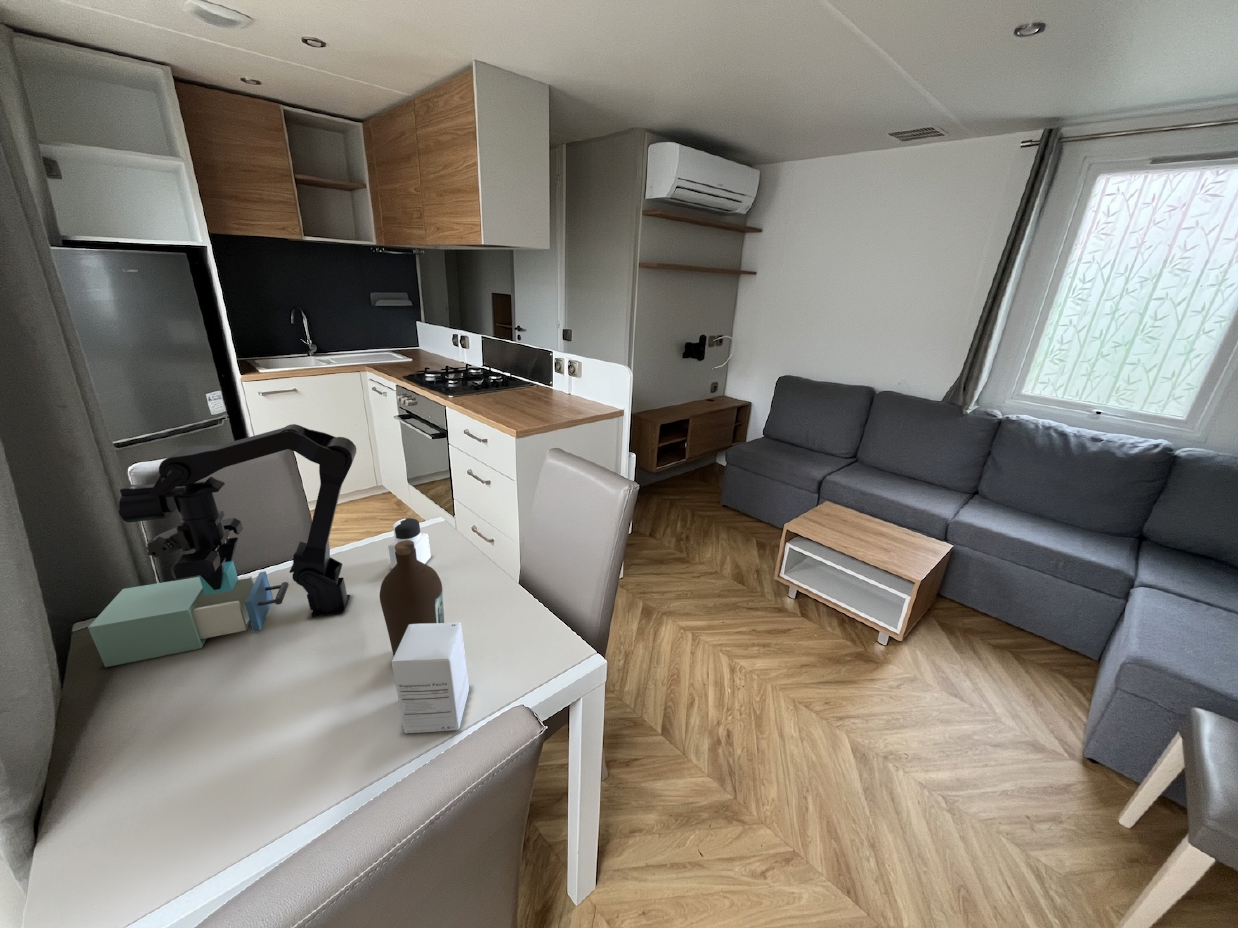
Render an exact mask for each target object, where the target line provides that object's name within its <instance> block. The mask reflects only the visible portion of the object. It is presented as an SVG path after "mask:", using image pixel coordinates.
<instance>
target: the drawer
mask: <svg viewBox="0 0 1238 928" xmlns="http://www.w3.org/2000/svg"><path fill="white" fill-rule="evenodd" d="M289 585H290V584H289V582H287V581H284V582H281V584H276V585H272V586H271V584H270V581H269V578H268V574H267V571H266V570H265V571H260V572H259V573H258V575H257V576H256V578H255V581H254V579H253V576H252V575H250V576H243V577H238V581H237V582H236V584H235V586H234V588H233V589H232V591H227V592H221V593H215V594H209V595H205V593H204V591H203V593H202V594H201V596H200V597H199V599H198V600H197V602H196V603H195V605H194V607H193V608H192V610H191V613H192V616H193V619H194V621H195V624H196V627H197V630H198V633H199V636H200V639H204V638H207V639H209V638H214V637H219V636H224V635H230V634H234V633H239V632H245V631H247V630H248V627H249V625H251V629H252V632H253V633H257V632H261V630H262V628H263V625H264V623H265V620H266V619H267V616H268V613H269V610H270V609H271V606H272V604H275V605H281V604H283V601H284V598H285V595H286V593H287V591H288V588H289ZM274 590H278V591H277V592H276V593H277V594H276V596H275V598H274V596H273V593H272V591H274Z"/></svg>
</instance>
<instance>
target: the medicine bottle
mask: <svg viewBox="0 0 1238 928" xmlns="http://www.w3.org/2000/svg"><path fill="white" fill-rule="evenodd" d="M392 530H393V535H394V536H393V537H394V539H393V540H392V541H391V542H390V543H389V544H388V545H387V549H388V555H389V560H390V567H391V570H392V569H393V568H394V567H395V565H396V564H397V561H396V555H395V552H396V550H395V545H396V544H397V543H398V542H401V541H404V540H410V541H413V542H414V548H415V549H416V557H417V560H418V561H420V562H422V563H424V564H427V562H428V561H429V560H430V559H431V557H432V554H431V547H430V540H429V538H430V537H429V534H428V533H424V532H423V533H422V532H421V526H420V521H419V520H418V519H416V518H411V517H406V518H402V519H398V520H397V521H396V522H394V524H392Z"/></svg>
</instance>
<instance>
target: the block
mask: <svg viewBox="0 0 1238 928" xmlns="http://www.w3.org/2000/svg"><path fill="white" fill-rule="evenodd" d="M198 577H199V578H200V581H201V584H202V587H203V590H204V593H205V595H209V594H215V593H221V592H227V591H232V589H233V588H234V586H235V584H236V582H237V581H238V578H239V577H238V574H237V570H236V566H235V564H234V560H232V561H230V562H225V566H224V573H223V579H222V585H221V588H220V589H218V590H213V588H212V587H211V586H210V585H209V584H208V583H207V582H206V581H205V580H204V579H203V578H202V577H201V576H200V575H198Z"/></svg>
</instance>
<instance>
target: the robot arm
mask: <svg viewBox="0 0 1238 928" xmlns="http://www.w3.org/2000/svg"><path fill="white" fill-rule="evenodd" d="M286 450H289V451H293V452H295V453H297V454H298V455H300V456H301V457H303V458H305V459H306V460H307V461H310V462H312V463H314V464H317V465H318V474H319V483H320V486H319V489H318V494H317V498H316V503H315V506H314V511H313V516H312V519H311V524H310V528H309V533H308V537H307V542H304V541H299V542H298V545H297V547H296V549H295V552H294V553H293V557H292V565H291V566H290V570H289V571H288V573H290V574H291V573H292V580H293V582H294V583H296V584H297V585H299V586H300V587H302V588H303V589H304V590H305V591H306V593H307V594H306V598H307V601H308V606H309V610H310V611H311V613H310V617H311V618H319V617H320V618H321V617H328V616H333V615H334V616H335V615H342V614H344V613H345V612H346V609H347V606H348V604H349V602H350V600H351V595H350V594H348V593H347V592H348V591H347V587H346V583H345V578H344V577H343V576H342V577H340V575H341V572H342V568H343V563H342V562H341V561H339V560H336V559H334V558H333V557H331V548H330V547H331V546H330V536H331V531H332V527H333V523H334V519H335V514H336V511H337V507H338V502H339V500H340V499H339V498H340V494H341V491H342V486H343V484H344V482H345V479H346V477H347V475H348V473H349V471H350V469H351V468H352V465H353V462H354V460H355V456H356V454H357V446H356V445H355V443H354V442H353V441H352V440H351V439H350V438H348V437H343V436H334V435H332V434H329V433H326V432H322V431H319V430H314V429H310V428H307V427H304V426H303V425H300V424H295V423H292V424H288V425H286V426H284V427H280V428H278V429H274V430H270V431H267V432H263V433H259V434H256V435H252V436H248V437H244V438H240V439H237V440H234V441H230V442H226V443H222V444H216V445H215V444H214V445H213V444H212V445H210V444H203V445H194V446H186V447H182V448H180V449H178V450H176V451H174V452H173V453H172V454H170V455H169V456H168V457H166V458H165V459H163V460H162V461H161V462H160V464H159V466H158V474H159V477H158V479H157V480H156V482H155V483H149V484H127V485H125V486H123V487H122V488H120V489H119V492H120V498H119V501H118V514H119V517H120V518H121V519H122V521H124V522H126V523H136V522H145V521H146V522H147V521H154V520H155V521H156V520H163V519H169V518H170V517H171V516H172V514H173V513H175V512H176V511H177V512H178V515H179V518H180V523H179V524H178V525H177V526H176V527H173V528H171V529H169V530H166V531H163V532H161V533H160V534H158V535H156V536H154V538H152V539H150V540H149V541H148V542H147V543H146V547H145V550H146V551H147V553H146V554H147V555H148V556H150V557H152V558H157V559H163V558H166V556H168V555H169V554H172V553H175V552H177V551H178V550H182V552H189V551H192V550H194V551H193V552H191V553H185V554H182V555H181V556H180V557H179V558H178V559H177V561H176V562H175V563H174V564H173V566H172V567H171V568H170V571H171V574H172V577H173V579H175V580H180V579H186V578H192V577H199V576H201V577H202V578H203V579H204V580H205V581H206V582H207V583H208V584H209V585H210V586H211V587H212V588H213V590H218V589H220V588H221V585H222V579H223V573H224V566H225V562H230V561H233V558H234V555H235V551H236V547H237V544H238V541H239V537H238V536H237V535H240V534H241V533H242V531H243V530H244V527H243V524H242V521H241V520H240V519H238V518H235V517H233V518H224V517H225V512H224V510H222V511H221V510H219V506H218V502H217V499H216V496H215V493H219V492H220V491H221V490H222V489H223V488H224V486H226V483H225V482H224V481H222V480H219V479H216V478H214V477H213V476H211V475H213V474H214V473H216V472H219V471H221V470H223V469H225V468H227V467H231V466H234V465H238V464H241V463H245V462H248V461H251V460H255V459H259V458H262V457H267V456H269V455H272V454H276V453H279V452H284V451H286ZM207 477H208V478H207ZM205 478H207V479H206V480H205V481H201V480H203V479H205ZM223 518H224V519H223ZM231 531H233V534H235V535H236V536H237V537H230V532H231Z"/></svg>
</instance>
